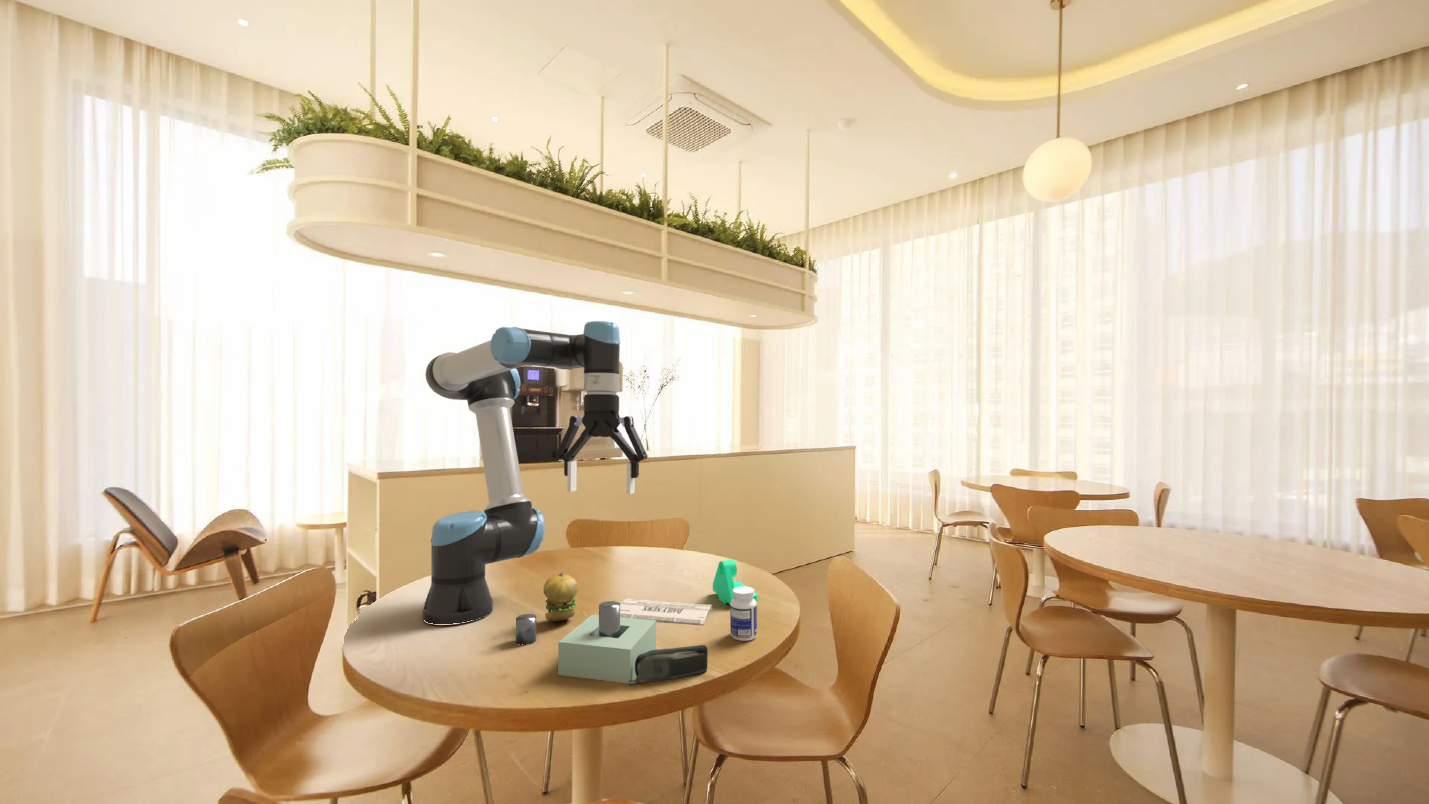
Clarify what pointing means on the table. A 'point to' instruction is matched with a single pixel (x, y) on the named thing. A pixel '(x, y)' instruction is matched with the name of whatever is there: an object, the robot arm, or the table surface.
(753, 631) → the pill bottle
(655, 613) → the newspaper
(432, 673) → the table surface
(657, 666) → the mobile phone
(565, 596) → the hamburger
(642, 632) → the guide block
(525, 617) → the short pin
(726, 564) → the camera mount
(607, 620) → the long pin
